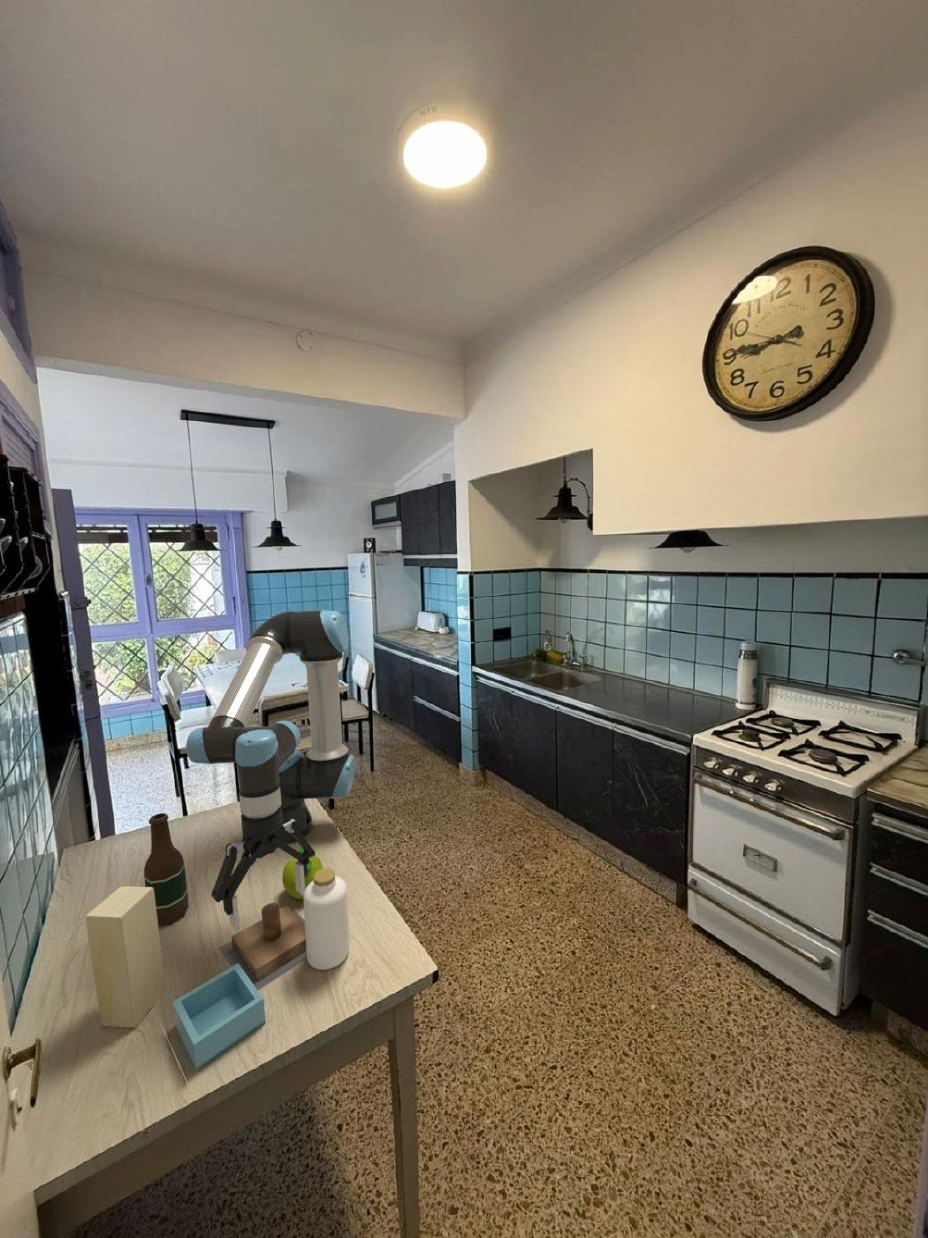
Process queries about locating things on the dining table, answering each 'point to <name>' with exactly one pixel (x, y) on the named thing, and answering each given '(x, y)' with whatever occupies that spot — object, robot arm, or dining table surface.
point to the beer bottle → (166, 873)
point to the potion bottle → (326, 920)
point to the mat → (234, 959)
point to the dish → (218, 1015)
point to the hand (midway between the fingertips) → (269, 908)
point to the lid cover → (270, 941)
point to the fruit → (289, 874)
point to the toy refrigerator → (126, 956)
